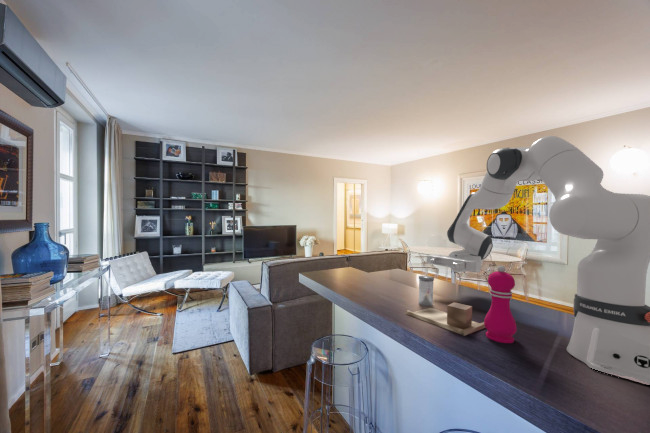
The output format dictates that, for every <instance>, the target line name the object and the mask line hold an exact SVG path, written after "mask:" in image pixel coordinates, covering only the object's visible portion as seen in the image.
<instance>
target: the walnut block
mask: <svg viewBox="0 0 650 433" xmlns="http://www.w3.org/2000/svg"><path fill="white" fill-rule="evenodd" d="M446 313H447V324H448V325H451V326H454V327H457V328H460V329H463V330H464V329H466V328H469V327H472V321H473V306H472V305H467V304H462V303H458V302H455V301H454V302H452V303H450V304H447V310H446Z"/></svg>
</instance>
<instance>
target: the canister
mask: <svg viewBox="0 0 650 433" xmlns="http://www.w3.org/2000/svg"><path fill="white" fill-rule="evenodd" d="M434 281H435V277H433V276H430V275H418V305H420V306H424V307H432V306H434V305H433V304H434Z"/></svg>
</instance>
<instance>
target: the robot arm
mask: <svg viewBox="0 0 650 433" xmlns="http://www.w3.org/2000/svg"><path fill="white" fill-rule="evenodd" d="M486 161H487V162H486V170H487V171H486V172H485V175H484V178H483V180H482V182H481V185H480V187H479V188H478V190H477V191H474V192H471V193H470V194H469V195H468V196H467V198H466V199H465V201H464V202H463V204H462V206H461V207H460V209H459V212H458V213H457V215H456V216H455V219H454V220H453V222H452V224H451V225H450V226H449V228H448V230H447V232H446V236H447V239H448V241H449V242H451V243H453V244H454V245H458V246H459V247H462V248H463V249H461V250H453V251H451V252H449V254H448V255H442V254H428V255H426V263H427V264H428V265H433V266H441V267H447V268H450V269H451V270H452V271H454V272H457V273H462V272H464V273H465V272H469V273H481V271H482V270H481V269H482V264H483V263H484V260H485V259H487V258H488V257H489V255H490V254H491V252H492V249H493V247H494V245H493V244H494V243H493V240H492V237H491V236H490V235H489V234H486V233H484V232H482V231H480V230H477V229H476V228H473V227H472V226H470V225H469V224H468V221H469V219H470V217H471V215H472V214H473V212H474V210H489V211H490V210H491V211H492V210H497V209H502V208H503V207H505V206H506V205H508V204H509V202H510V201H511V199H512V197H513V195H514V192H515V189H516V186H517V184H518V182H533V181H534V182H535V181H542V182H543V184H544V185H545V186H546V187H547V188H548V190H549V191H550V192H551V193H552V195H553V197H554V199H555V201H554V202H553V203H552V205H551V207H550V209H549V213H548V214H549V215H548V217H549V222H550V224H551V226H552V228H553V229H554V230H555V231H556V232H558V233H559V234H561V235H565V236H569V237H572V238H577V239H582V240H597V241H596V244H595V246H594V247H593V250H591V252H590V253H589V254H588V255H586V256H585V257H583V258H582V259H581V260H580V261H579V262H578V265H577V270H576V271H577V274H576V276H577V277H576V279H577V280H576V282H577V283H576V293H575V294H574V298H573V306H572V307H573V308H572V309H573V316H574V318H575V319H574V322H573V323H574V324H573V329H572V332H571V337H570V339H569V341H568V345H567V347H566V351H567V353H569V354H570V355H571V356H573V357H574V358H575V359H577V360H579V361H581V362H582V363H584V364H586V366H588V368H590V369H591V368H592V370H593V369H595V370H598V371H602V372H607V373H613V374H617V375H620V376H628V377H633V378H635V379H638V380H640V381H643V382H647V383H649V384H650V306H649V305H647V304H646V286H647V284H646V283H647V274H648V268H649V266H650V195H648V194H643V193H642V194H640V193H639V194H638V193H620V192H619V193H618V192H613V191H610V190H608V189H606V188H605V187H603V185H602V184H601V183H602V181H603V178H604V171H603V169H602V168H601V167H600V166H599V165H598V164H597V163H596V162H594V161H593V160H592V159H591V158H590V157H589V156H588V155H587V154H585V153H584V152H583V151H582V150H581V149H579V148H578V147H577V146H576V145H573V144H572V143H570V142H569V141H567V140H565V139H563V138H561V137H559V136H555V135H547V136H543V137H541V138H538V139H537V140H535V141H534V142H533V143H532V144H531V145H530V147H527V146H526V147H525V146H524V147H523V146H522V147H521V146H520V147H502V148H499V149H495V150H493V151H492V153H491V154H490V155H489V156H488V158H487V160H486ZM595 370H594V371H595ZM598 371H597V372H598Z"/></svg>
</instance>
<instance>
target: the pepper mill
mask: <svg viewBox="0 0 650 433" xmlns="http://www.w3.org/2000/svg"><path fill="white" fill-rule="evenodd" d="M487 283H488V285H489V287H490V289H489V294H490V297H491V305H490V308H489V310H488V311H487V312H486V314H485V317H484V319H483V320H484V321H483V322H484V326H485V327H486V328H485V329H486V330H487V331H486V332H485V337H486V338H488V339H489V340H492V341H495V342H497V343H502V344H503V343H504V344H513V343H514V342H515V338H514V337H513V335H515V334H516V333H517V329H518V328H517V324H516V319H515V317H514V316H513V313H512V311H511V308H510V306H511V305H510V303H511V302H510V300H511V299H512V298H513V292H512V290H513V289H514V288H515V286H516V282H515V278H514V277H513V276H512V274H510V273H508V272H506V267H505V266H503V265H499V266H498V267H497V271H493V272H492V273H490V274H489V275H488V278H487Z"/></svg>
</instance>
